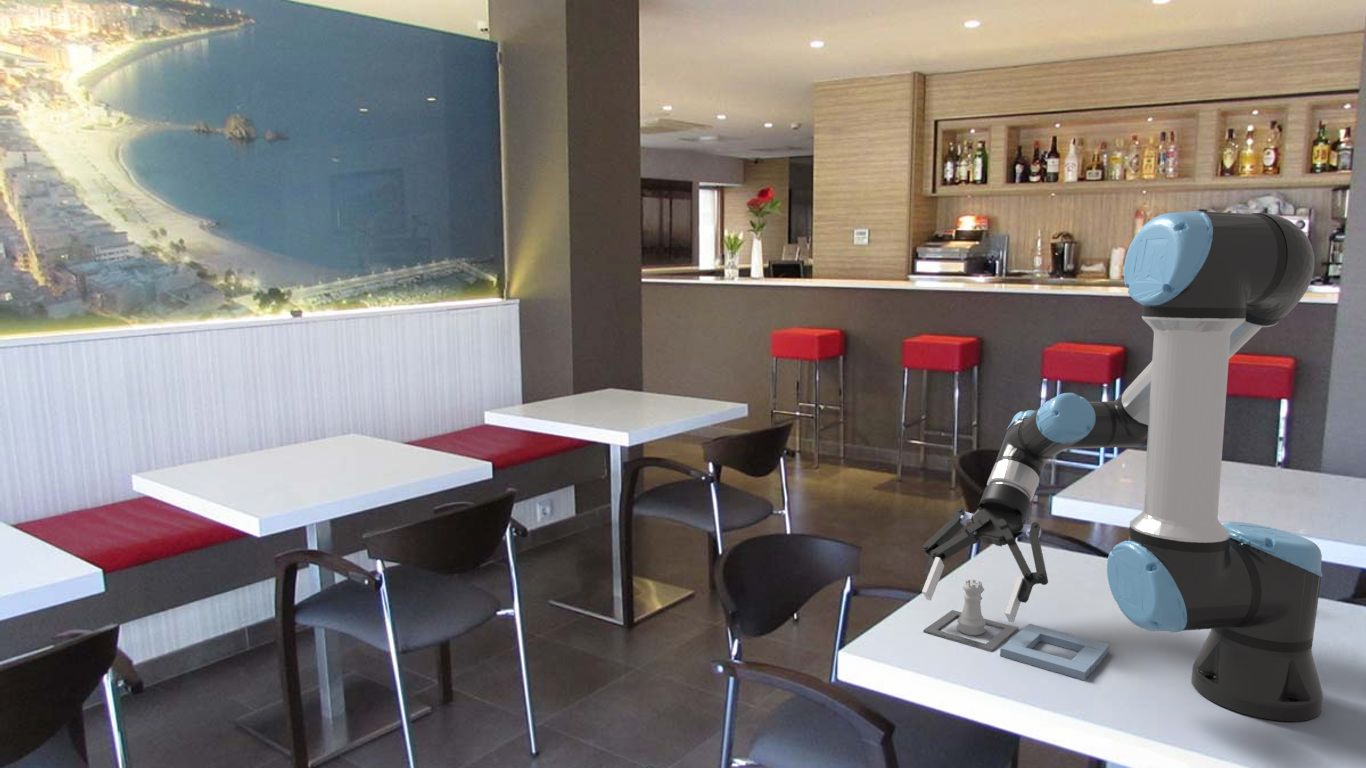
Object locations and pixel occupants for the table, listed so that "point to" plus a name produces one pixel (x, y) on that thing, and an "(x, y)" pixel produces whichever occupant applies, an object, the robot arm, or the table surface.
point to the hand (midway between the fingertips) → (966, 606)
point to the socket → (1077, 667)
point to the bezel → (988, 646)
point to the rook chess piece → (972, 610)
